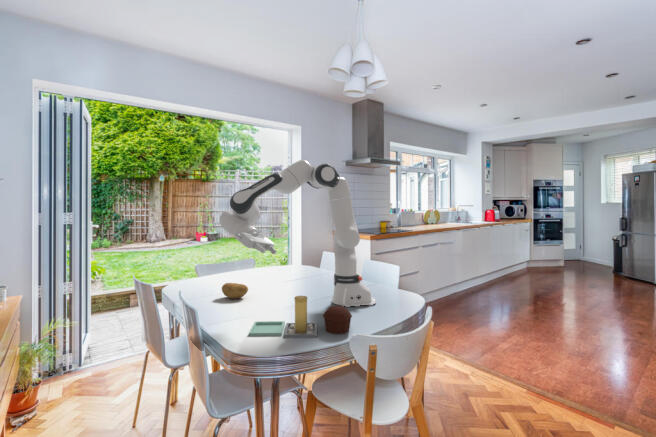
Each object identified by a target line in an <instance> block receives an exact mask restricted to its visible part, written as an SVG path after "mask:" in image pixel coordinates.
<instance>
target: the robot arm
mask: <svg viewBox="0 0 656 437" xmlns="http://www.w3.org/2000/svg"><path fill="white" fill-rule="evenodd" d="M305 183H306V184H308V185H309V186H310V187H312V188H314V189H317V190H318V189H326V190H327V193H328V198H329V205H330V212H331V218H332V221H333V224H334V230H333V236H332V237H333V238H332V240H333V241H332V242H333V252H334V253H333V254H334V274H333V294H332V298H331V303H333V304H335V305H340V306H343V307H344V306H345V308H351V307H350V306H355V307H361V306H360V305H369V306H372V305H371V304H375V303H377V301H376V299H375V297H373V296H372V292H371V290H370V288H369V287H368V286H366V285H365V284H364V283H363V282H361V281H363V277H362V276H361V275H359V274H358V273H357V260H358V259H357V255H356V247H357V246H358V245H359V243H360V240H361V237H360V233H359V230H358V229H359V228H358V225H357V221H356V217H355V213H354V209H353V208H354V207H353V201H352V194H351V189H350V186H349V183H348V180H347V179H346V178H344V177H343V176H342V177H341V176H340V175H339V173H338V171H337V170H336V168H335V167H334V166H333V165H332V164H329V163H321V164H318V165H316V166H314V167H313V165H311V164H310V163H309V162H308V161H307V160H305V159H299V160H298V161H295V162H294V163H292V164H291V165H289V166H287V167H286V168H284V169H283V170H281V171H280V172H278V173H275V172H274V173H272V174H269V175H268V176H266V177H264V178H262V179H260V180H258V181H257V182H255V183H254V184H252V185H250V186H248V187H246V188H243V189H240V190H238V191H236V192H235V193H233V195H232V196H231V198H230V199H229V206H230V208H231V209H228V210H227V209H226V210H223V212H221V213H220V214H221V215H220V216H219V225H220V226H221V228H222V229H223V230H224V231H226V233H228V234H229V235H230V236H233V237H234V238H235V240H237V241H238V242H239V243H241V244H242V245H244V247H246V248H248V249H254V250H257V251H258V252H260V253H261V254H265V252H266V251H269V252H270V253H271V254H272V255H276V254H277V253H278V252H277V250H276V249H275V248H274V246H275V243H274V242H273V241H272V240H271V239H269V238H268V236H266V235H264V233H263V232H262V231H261V230H259V229H257V228H256V227H254V226H253V225H254V224H255V223H256V222H258V221H259V219H260V218H261V215H262V213H261V212H262V211H261V209H260V208H259V206H258V204H257V202H256V200H258V199H259V198H260V197H262V196H264V195H265V194H266V193H268V192H270V191H273V190H274V191H275V190H276V191H278V192H279V193H281V194H286V195H289V194H290V195H291V193H293V192H296V191H297V190H298V189H299V188H300V187H301V186H303V185H304V184H305ZM375 305H376V304H375Z"/></svg>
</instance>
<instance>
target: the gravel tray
mask: <svg viewBox="0 0 656 437" xmlns="http://www.w3.org/2000/svg"><path fill="white" fill-rule="evenodd" d="M317 324H318V322H307V332H305V333H296V332H295V322H286V323H285V328H284V331H283V338H284V339H285V338H286V339H289V338H291V339H293V338H295V339H296V338H297V339H299V338H317V337H318V336H317V335H318V334H317V333H318V332H317V331H318V327H317V326H318V325H317Z"/></svg>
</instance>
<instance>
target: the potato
mask: <svg viewBox="0 0 656 437" xmlns="http://www.w3.org/2000/svg"><path fill="white" fill-rule="evenodd" d="M221 292H222V293H223V295H224V296H225V297H227V298H229V299H232V300H235V299H240V298H243V297H244V296H245V295H247V293H248V292H249V287H248V286H247V285H245V284H242V283H236V282H234V283H233V282H226V283H224V284H222V286H221Z"/></svg>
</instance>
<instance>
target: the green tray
mask: <svg viewBox="0 0 656 437" xmlns="http://www.w3.org/2000/svg"><path fill="white" fill-rule="evenodd" d="M285 325H286V323H285V320H283V321H282V320H279V321H278V320H277V321H274V320H273V321H270V320H269V321H264V320H263V321H254V322H253V325H252V327H251V329H250V330H249V332H248V337H261V336H262V337H263V336H264V337H266V336H269V337H270V336H272V337H273V336H274V337H275V336H278V337H279V336H283V333H284V329H285V328H284V327H285Z"/></svg>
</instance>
